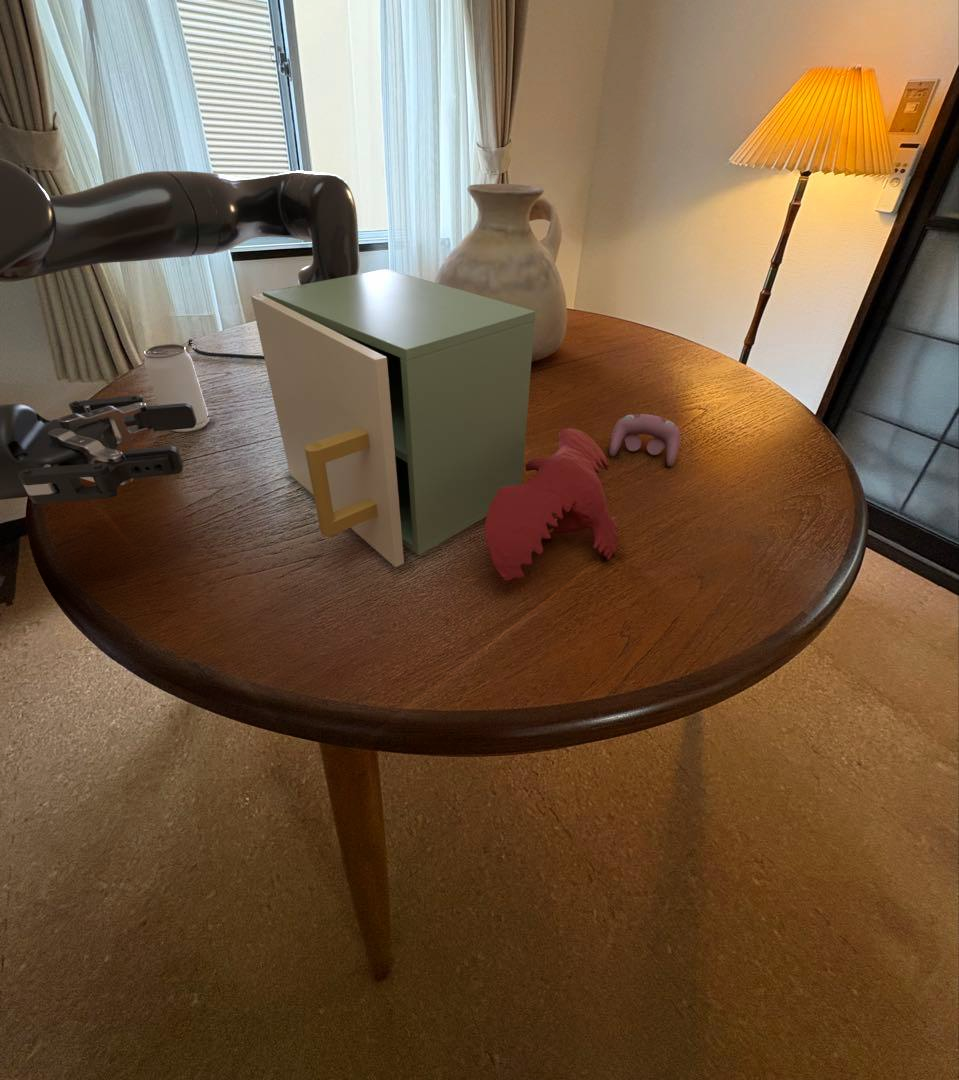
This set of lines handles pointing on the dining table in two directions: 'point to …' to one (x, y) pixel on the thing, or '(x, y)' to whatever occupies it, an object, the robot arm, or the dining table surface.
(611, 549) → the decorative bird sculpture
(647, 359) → the dining table surface
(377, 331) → the cupboard
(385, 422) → the door
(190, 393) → the can
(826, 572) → the dining table surface
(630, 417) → the video game controller
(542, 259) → the jug
